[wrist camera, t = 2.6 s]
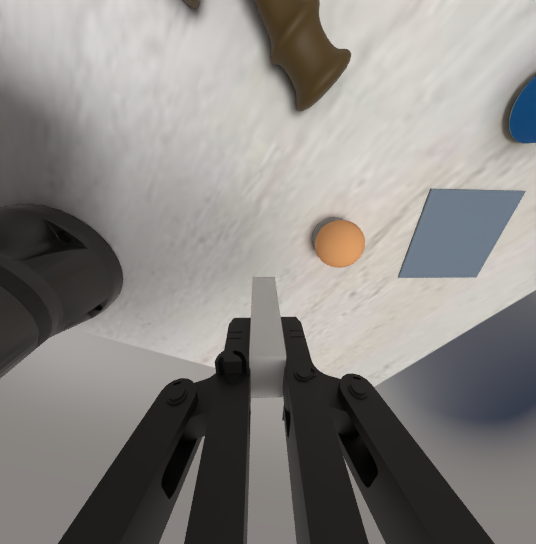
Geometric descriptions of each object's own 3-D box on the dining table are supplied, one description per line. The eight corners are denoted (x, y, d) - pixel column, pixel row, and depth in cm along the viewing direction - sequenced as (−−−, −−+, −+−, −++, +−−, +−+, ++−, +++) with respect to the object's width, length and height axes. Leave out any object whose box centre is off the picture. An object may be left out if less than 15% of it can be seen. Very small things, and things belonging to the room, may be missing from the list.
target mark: (398, 277, 30) (398, 277, 30) (430, 188, 24) (431, 189, 24) (474, 276, 30) (476, 277, 30) (523, 190, 25) (525, 191, 25)
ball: (307, 256, 27) (319, 275, 23) (313, 215, 25) (327, 227, 20) (347, 256, 28) (367, 275, 23) (356, 215, 25) (381, 227, 20)
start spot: (310, 254, 27) (310, 255, 27) (314, 217, 25) (315, 217, 25) (346, 254, 28) (346, 255, 27) (354, 217, 25) (355, 218, 25)
